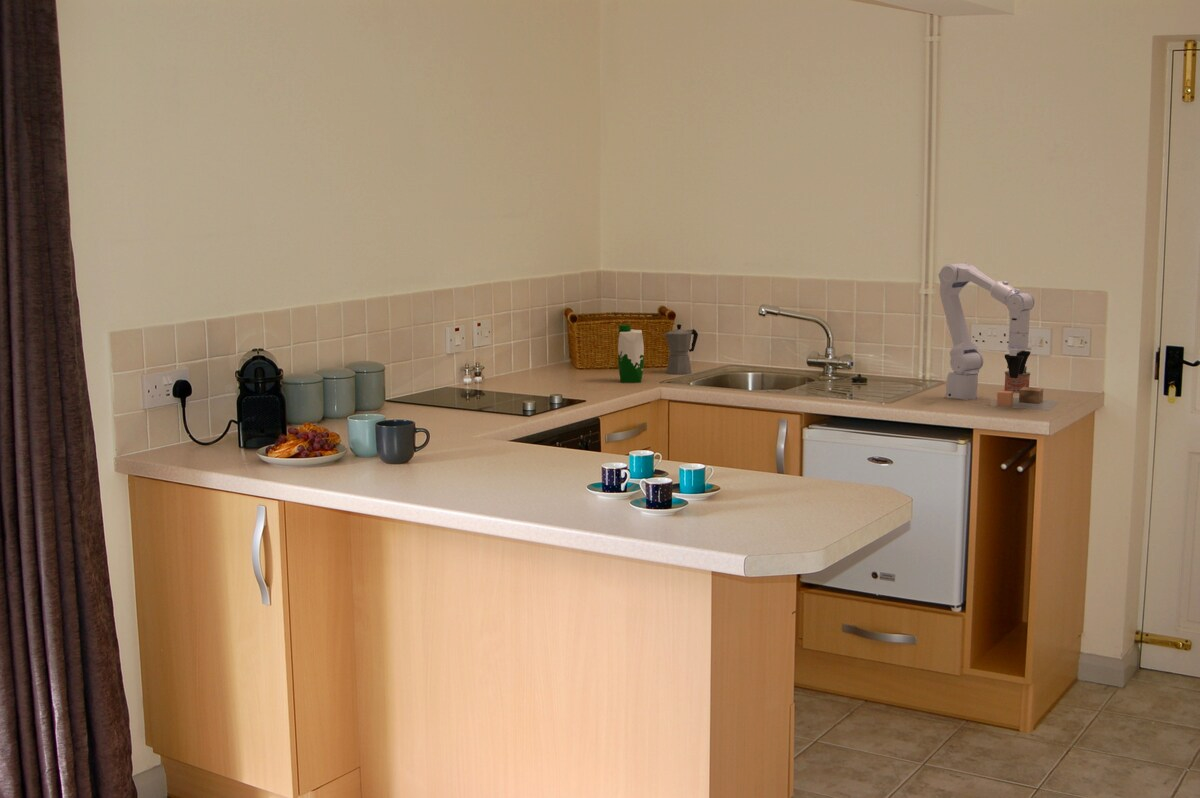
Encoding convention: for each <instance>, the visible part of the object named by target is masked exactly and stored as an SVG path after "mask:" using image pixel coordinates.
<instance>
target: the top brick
mask: <svg viewBox="0 0 1200 798" xmlns="http://www.w3.org/2000/svg"><path fill="white" fill-rule="evenodd" d="M1013 397H1014V392H1013V391H1004V390H1002V389H1001V390H999V391H997V393H996V400H997V405H1002V406H1011V405H1012V404H1013Z"/></svg>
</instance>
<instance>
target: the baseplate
mask: <svg viewBox="0 0 1200 798" xmlns="http://www.w3.org/2000/svg"><path fill="white" fill-rule="evenodd" d="M1060 402H1061V401H1060V400H1051V399H1050V400H1049V399H1043V401H1042V402H1040V403H1039V404H1034V403H1022V402H1019V397H1014V396H1013V404H1012V405H1011V406H1002V405H997V399H996V400H995V401H994V402H992V403H991V404H988V406H989V407H1000V408H1012V409H1013V408H1014V409H1026V410H1036V411H1038V410H1039V411H1051V409H1053V408H1054V407H1055V406H1056V405H1058V404H1059V403H1060Z"/></svg>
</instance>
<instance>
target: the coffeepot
mask: <svg viewBox="0 0 1200 798" xmlns="http://www.w3.org/2000/svg"><path fill="white" fill-rule="evenodd" d="M676 328H677V329H674V330H669V331H666V332H665V333H664V337H665V338H666V341H667V347H668V351H669V355H668V360H667V366H666V373H667V374H668V375H676V376H677V375H679V376H680V375H689V374H691V373H692V366H691V360H690V355H689V353H690V352H691V353H692V352H694V351H695V348H696V344H697V340H698V338H699V334H698V332H697V331H696V329H694V328H693V329H692V328H691V329H686V330H685V329H682V324H680V323H678V324H676ZM692 335H693V337H692ZM691 339H692V340H691ZM691 341H692V343H691ZM690 345H691V348H690Z"/></svg>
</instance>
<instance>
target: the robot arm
mask: <svg viewBox="0 0 1200 798" xmlns="http://www.w3.org/2000/svg"><path fill="white" fill-rule="evenodd" d="M937 275H938V279H939V281H940V285H939V297H940V300H941V304H942V307H943V310H944V315H945V318H946V322H947V325H948V330H949V333H950V336H951V340H952V341H951V342H952V344H953V346H952V347H951V350H950V351H949V356H950V359H949V364H950V365H949V366H950V368H951V370H952V371H953V372H948V374H947V375H946V385H945V386H946V387H945V399H956V400H967V401H968V400H976V399H978V385H979V384H978V382H979V373H980V369H982V367H983V366H984V357H983V355H982V354H981V352H980V351H979V348H978V346H977V345H976V344H975V343H973V341H972V340H971V336H970V333H969V329H968V325H967V321H966V319H965V314H964V311H963V308H962V304H961V303H962V302H961V300H960V297H959V294H960V293H961V291H962V290H963V288H964V287H966V286H967V285H968V284H969V283H970V282H971V283H973V284H975V285H977V286H979V287H981V288H983V289H984V290H986V291H988V292H990V295H991V297H992V298H993V299H995V300H996V301H998V302H1000V303H1001V304H1003V305H1005V306H1006V307H1007V309H1008V312H1009V314H1008V316H1009V328H1008V329H1009V330H1008V331H1009V332H1008V344H1007V349H1008V351H1009V353H1005V354H1004V359H1005V361H1006V363H1007V365H1008V368H1007V369H1008V371H1009V375H1010V378H1017V377H1018V374H1021V375H1022V374H1023V372H1024V368H1025V366H1026V363H1027V361H1028V358H1029V357H1030V355H1031V353H1032V352H1031V351H1032V349H1033V347H1032V346H1029V335H1030V334H1029V333H1030V318H1031V317H1030V316H1031V310H1033V308H1034V306H1035V299H1034V296H1033V294H1031V293H1030V292H1027V291H1026V292H1023V291H1021V289H1019V288H1015V287H1013V286H1012V285H1010V284H1009V281H1007V280H1004V281H1003V280H998V281H996V280H994V279H993V278H991V277H989V276H988V275H986V274H985V273H984V272H983V271H981V270H978V269H977V268H976V266H975V265H972V264H971V263H968V262H962V263H947V264H944V265H943V266H942V267H941V269H940V271H939V273H938V274H937Z"/></svg>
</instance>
